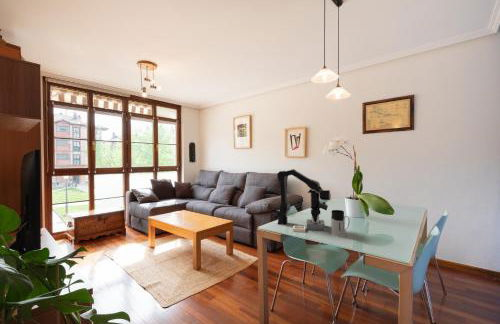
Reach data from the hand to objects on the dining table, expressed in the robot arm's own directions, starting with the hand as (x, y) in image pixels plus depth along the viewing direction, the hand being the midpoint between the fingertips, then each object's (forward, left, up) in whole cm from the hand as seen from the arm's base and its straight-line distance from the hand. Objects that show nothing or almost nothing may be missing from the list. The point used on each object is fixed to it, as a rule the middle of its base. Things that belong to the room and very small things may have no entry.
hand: (315, 221), depth 166 cm
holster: (-11, -8, -4) cm, 14 cm away
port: (0, 0, -4) cm, 5 cm away
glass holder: (+15, -15, -5) cm, 22 cm away
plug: (0, 0, -3) cm, 3 cm away
